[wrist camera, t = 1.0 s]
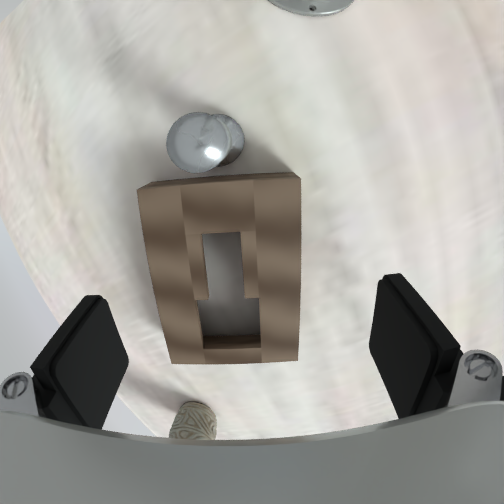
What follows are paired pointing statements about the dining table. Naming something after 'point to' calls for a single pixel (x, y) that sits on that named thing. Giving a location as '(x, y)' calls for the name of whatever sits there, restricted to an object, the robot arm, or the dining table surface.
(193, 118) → the keyhole peg
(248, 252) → the keyhole board
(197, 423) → the carving
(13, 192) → the dining table surface
